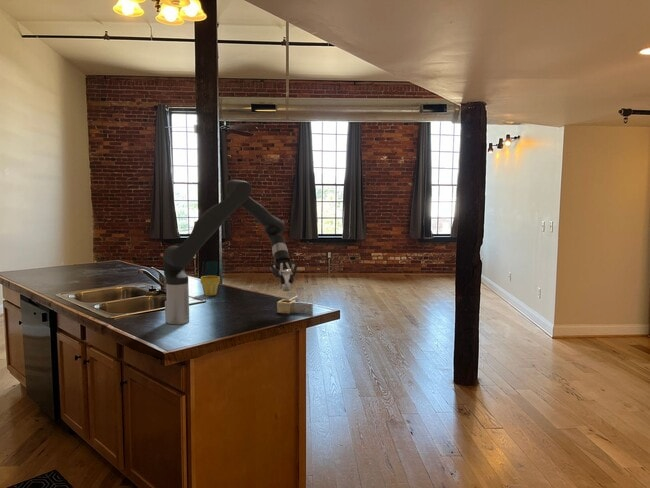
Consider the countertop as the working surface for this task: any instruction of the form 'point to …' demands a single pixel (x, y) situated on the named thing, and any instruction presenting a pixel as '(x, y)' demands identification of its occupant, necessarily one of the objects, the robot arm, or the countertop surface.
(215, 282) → the plant pot
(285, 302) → the shallow cream box
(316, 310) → the countertop surface
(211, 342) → the countertop surface
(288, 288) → the pin
